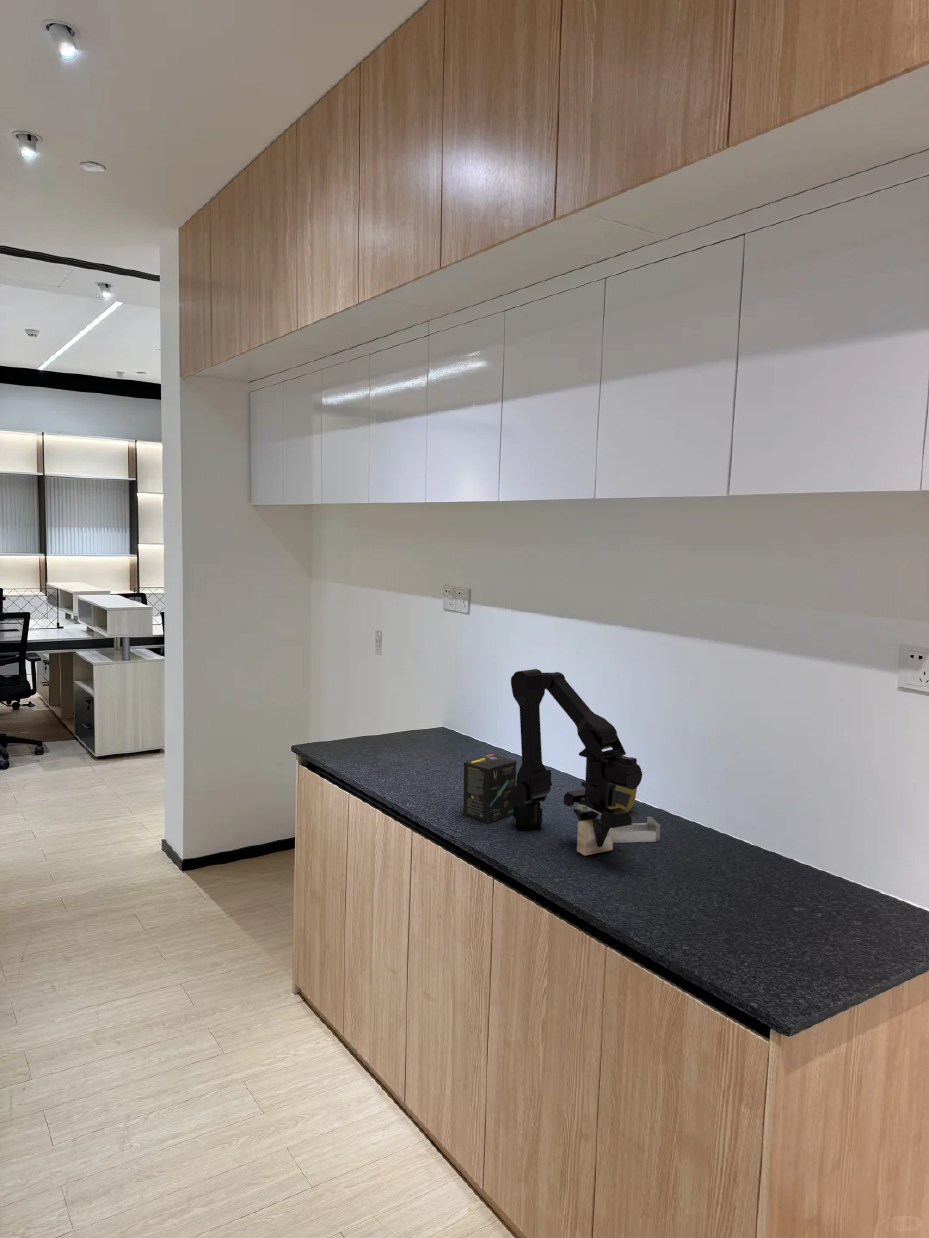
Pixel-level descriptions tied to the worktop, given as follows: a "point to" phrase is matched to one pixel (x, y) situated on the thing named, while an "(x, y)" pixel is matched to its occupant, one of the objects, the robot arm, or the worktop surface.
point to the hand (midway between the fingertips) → (595, 843)
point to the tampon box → (488, 787)
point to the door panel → (591, 839)
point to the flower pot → (632, 799)
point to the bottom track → (638, 832)
